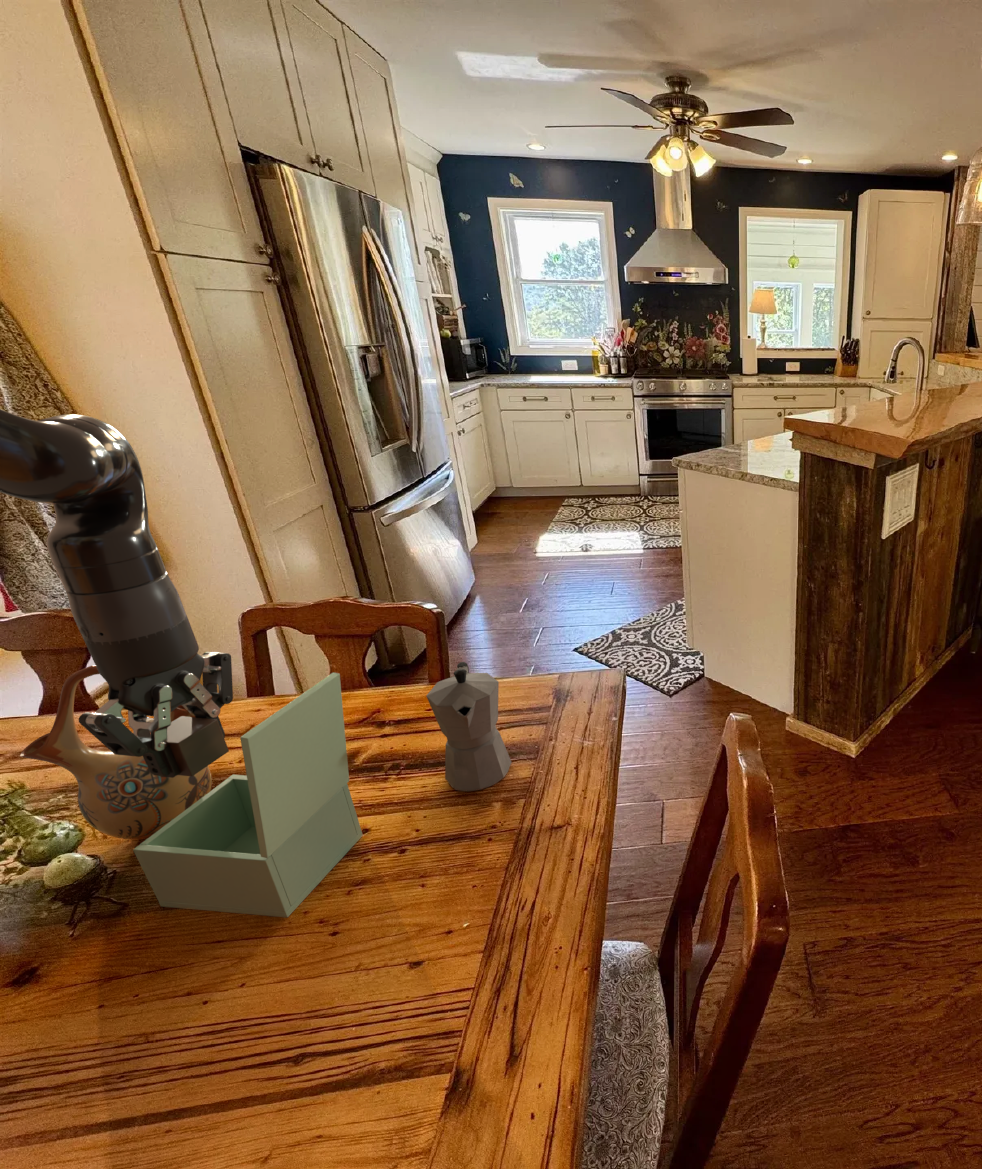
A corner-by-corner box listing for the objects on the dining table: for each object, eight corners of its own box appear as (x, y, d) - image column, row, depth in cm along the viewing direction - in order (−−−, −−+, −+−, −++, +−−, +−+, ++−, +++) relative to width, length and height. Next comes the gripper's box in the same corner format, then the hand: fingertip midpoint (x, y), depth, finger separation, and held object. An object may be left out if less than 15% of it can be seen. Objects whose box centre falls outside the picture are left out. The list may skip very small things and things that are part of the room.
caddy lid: (239, 737, 61) (247, 738, 61) (333, 672, 73) (339, 673, 73) (260, 856, 68) (267, 858, 68) (343, 779, 79) (349, 780, 79)
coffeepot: (516, 790, 92) (498, 686, 85) (444, 809, 88) (420, 701, 81) (507, 732, 104) (492, 638, 97) (445, 746, 100) (424, 649, 94)
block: (192, 776, 67) (177, 743, 65) (154, 773, 67) (139, 739, 65) (229, 751, 71) (217, 719, 69) (194, 747, 71) (181, 715, 69)
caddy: (160, 906, 72) (132, 849, 69) (252, 826, 84) (232, 774, 80) (287, 917, 71) (265, 860, 68) (363, 835, 83) (347, 783, 80)
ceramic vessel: (242, 783, 91) (184, 632, 82) (245, 818, 85) (183, 659, 76) (82, 836, 81) (-6, 672, 72) (72, 880, 75) (-25, 706, 66)
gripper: (88, 659, 55) (157, 809, 62) (234, 596, 68) (278, 724, 75) (14, 653, 56) (90, 802, 63) (172, 591, 69) (221, 719, 76)
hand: (192, 759), depth 69 cm, fingers closed on block, 4 cm apart
